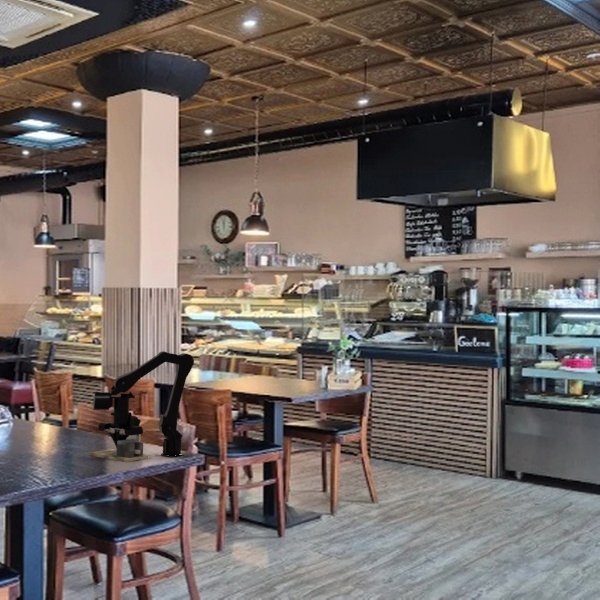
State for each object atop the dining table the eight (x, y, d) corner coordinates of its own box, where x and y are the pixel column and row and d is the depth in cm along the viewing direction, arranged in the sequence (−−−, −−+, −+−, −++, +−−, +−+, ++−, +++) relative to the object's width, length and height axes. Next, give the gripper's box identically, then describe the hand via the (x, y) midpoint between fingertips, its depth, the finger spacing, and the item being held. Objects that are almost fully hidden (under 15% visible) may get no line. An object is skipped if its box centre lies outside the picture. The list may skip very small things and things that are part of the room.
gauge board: (148, 458, 298) (148, 442, 298) (126, 461, 289) (126, 445, 289) (111, 451, 309) (112, 436, 309) (89, 455, 300) (90, 439, 300)
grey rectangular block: (146, 455, 296) (147, 441, 296) (127, 459, 288) (128, 443, 288) (131, 453, 300) (132, 438, 300) (112, 456, 292) (113, 441, 293)
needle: (122, 455, 292) (123, 444, 292) (119, 455, 291) (119, 444, 291) (119, 454, 293) (120, 443, 293) (116, 455, 292) (116, 444, 292)
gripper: (154, 410, 300) (152, 452, 300) (120, 406, 311) (118, 446, 311) (132, 412, 291) (130, 455, 291) (98, 408, 302) (96, 449, 301)
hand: (119, 451), depth 299 cm, fingers closed
